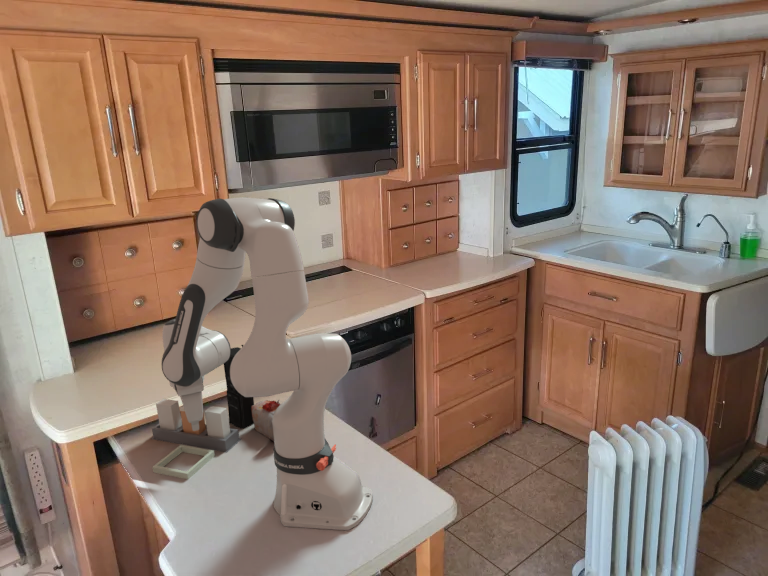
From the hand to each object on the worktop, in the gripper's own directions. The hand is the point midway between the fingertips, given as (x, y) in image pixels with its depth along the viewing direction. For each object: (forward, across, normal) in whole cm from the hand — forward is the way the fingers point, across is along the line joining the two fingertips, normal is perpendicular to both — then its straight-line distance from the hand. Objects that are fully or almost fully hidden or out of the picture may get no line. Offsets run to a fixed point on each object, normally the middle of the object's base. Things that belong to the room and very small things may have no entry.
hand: (193, 422), depth 154 cm
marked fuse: (+5, 0, 0) cm, 5 cm away
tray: (+6, +11, -4) cm, 14 cm away
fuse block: (+6, 0, 0) cm, 6 cm away
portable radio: (+6, -4, +13) cm, 15 cm away
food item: (+6, +7, +20) cm, 22 cm away
